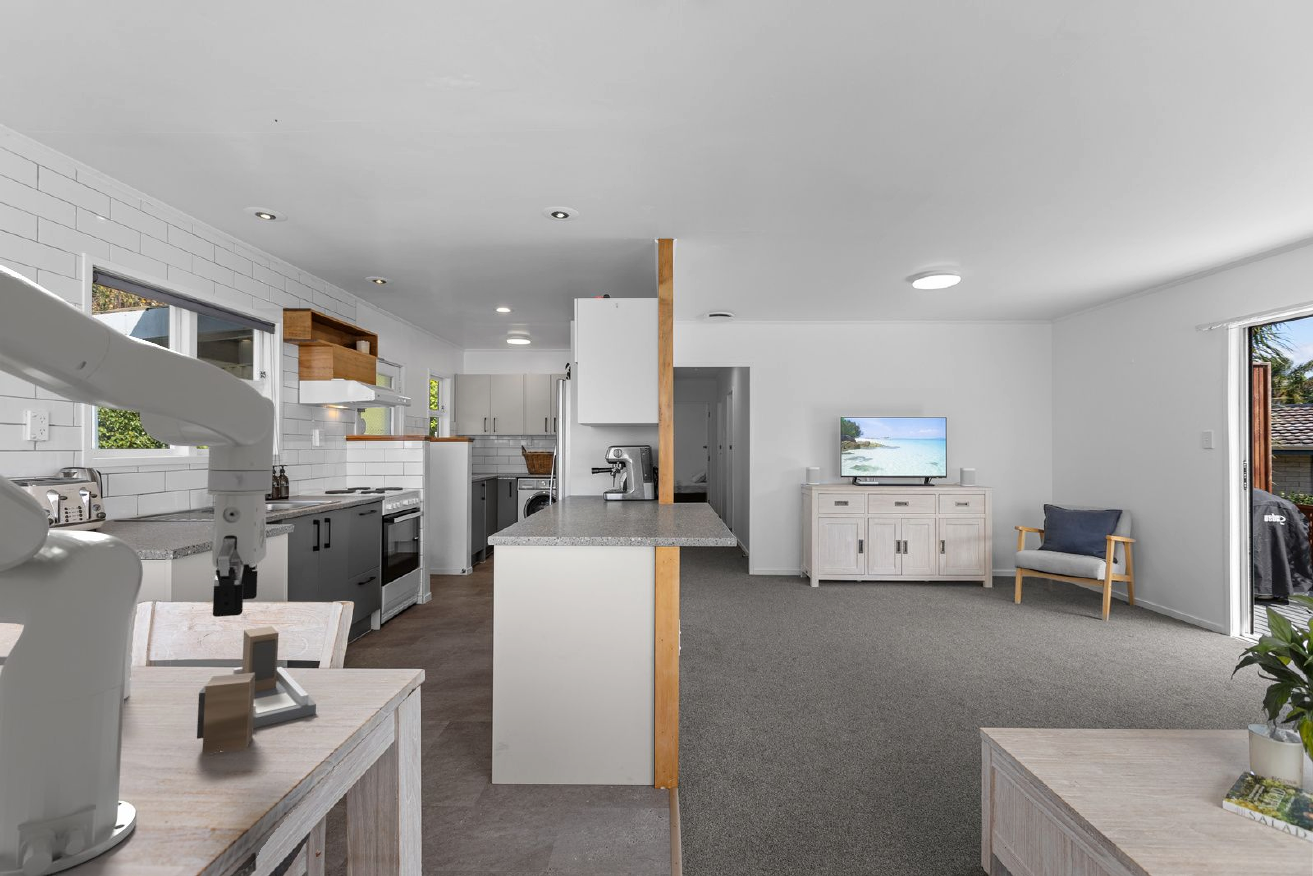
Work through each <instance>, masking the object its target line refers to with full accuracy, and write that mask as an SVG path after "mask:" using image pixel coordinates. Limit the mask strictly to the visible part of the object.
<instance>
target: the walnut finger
mask: <svg viewBox="0 0 1313 876" xmlns="http://www.w3.org/2000/svg"><path fill="white" fill-rule="evenodd" d="M254 686H255V673H245V674H234V675H233V674H225V675H213V676H212V678H210V680H209V681H208V682H207V684H206V685H204V686H203V687H202V689H201V690H200V691H199V692H198V707H197V708H198V709H197V723H196V724H197V726H196V727H197V728H196V729H197V731H196V739H197V740H199V739H202V750H201V751H202V752H201V753H202V755H203V756H204V755H211V753H212V754H216V753H215V752H220V751H227V752H234V751H233V750H235V751H241V750H242V749H243V750H247V749H248V747H247V746H249V745H250V743H249V742H251V740H252V739H253V731H254V728H253V708H254ZM220 753H221V752H220ZM202 755H201V756H202Z"/></svg>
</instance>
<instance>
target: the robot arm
mask: <svg viewBox="0 0 1313 876" xmlns="http://www.w3.org/2000/svg"><path fill="white" fill-rule="evenodd" d="M0 371H1V372H4V373H6V374H8V375H11V376H13V377H15V378H18V379H20V380H22V381H24V382H27V383H30V384H32V385H34V386H36V387H38V388H39V387H40V388H41V389H43V390H46V391H48V392H50V393H53V394H55V395H58V396H60V397H62V398H63V399H64V398H65V399H67V400H70V401H72V402H74V403H80V404H85V405H88V406H94V407H98V408H103V409H108V410H116V411H125V412H135V413H139V421H140V424H141V427H142V429H143V430H144V432H145V433H146V434H147V435H149V437H151V438H152V439H154V440H156V441H158V442H160V443H163V444H166V445H169V446H177V447H208V463H207V465H208V468H207V469H208V470H207V488H206V489H207V492H206V494H207V495H209V496H210V495H211V496H215V505H214V509H213V511H214V516H213V526H212V528H213V529H212V546H211V559H212V562H211V563H212V566H213V567H214V568H216V570H215V578H214V585H213V598H212V599H213V600H212V601H213V602H212V616H213V617H216V618H218V617H231V616H232V617H234V616H240V615H241V614H243V608H244V607H243V604H244V600H254V599H255V598H256V597H257V594H258V570H257V569H258V564H259V563H260V562H262V561H263V560H264V559H265V557H266V556H267V555H266V554H267V512H266V511H267V507H266V495H269V494H272V493H273V469H274V468H273V466H274V462H273V461H274V439H275V438H274V437H275V418H276V417H275V415H276V414H275V413H276V412H275V411H276V410H275V408H276V407H275V405H274V402H273V400H272V399H270V398H269V397H267V396H263V395H262V394H261V393H260V392H259V391H258V390H257V389H255V388H254V387H253V386H252V385H250V384H248V383H246V382H245V381H244V380H242V379H240V378H239V377H238V376H235V375H234V374H232V373H231V372H228V371H227V370H225V369H223V368H221V367H218V366H216V365H215V364H212V363H209V362H207V361H205V360H201V359H198V358H196V357H192V356H191V355H190V356H189V355H187V354H183V353H181V352H178V351H174V350H172V349H168V348H167V347H163V346H162V345H161V346H160V345H158V344H156V343H152V342H150V341H146V340H143V339H139V338H136V337H135V336H134V337H133V336H130V335H128V334H125V333H123V332H121V331H119V330H117V329H115V328H113V327H111V326H110V325H108V324H106V323H104V321H101V320H100V319H97V318H96V317H94V316H92V315H91V314H88V313H87V312H85V311H84V310H82V309H80V308H78V307H76V306H75V305H73V304H71V303H70V302H68V301H66V300H65V299H63V298H61V297H60V296H58V295H56V294H54V293H52V292H51V291H49V290H48V289H45V288H43V287H42V286H40V285H39V284H37V283H35V282H33V281H32V280H30V279H28V278H27V277H25V276H22V275H21V274H19V273H17V272H15V271H13V270H11V269H9V268H7V267H6V266H3V265H0ZM143 576H144V570H143V562H142V560H141V558H140V554H139V553H138V552H137V550H136V549H135V548H134V547H133V546H132V545H131V544H129V543H128V542H127V541H126V540H123V539H121V538H119V537H116V536H114V535H111V534H105V533H103V532H96V531H84V530H69V529H68V530H65V529H63V530H62V529H60V530H59V529H50V521H49V516H48V514H47V511H46V510H45V509H44V506H42V504H41V503H40V501H38V499H36V497H34V496H33V495H32V494H30V493H29V492H28V491H27V490H25V489H24V488H23V487H22V486H20V485H19V484H17V483H15V482H13V481H12V480H10V479H9V478H7V477H5V476H4V475H2V474H1V473H0V624H12V625H15V624H17V625H20V626H22V625H23V628H22V632H21V633H20V634H19V637H18V639H17V640H16V642H15V644H14V645H13V647H12V649H11V650H10V652H9V653H8V655H7V657H6V659H5V660H4V662H3V666H2V668H1V671H0V876H47V875H51V874H54V873H57V872H58V873H59V872H60V871H64V870H67V869H69V868H72V867H75V866H78V865H80V864H82V863H84V862H87V861H89V860H91V859H93V858H96V857H98V856H100V855H101V854H103V853H105V852H107V851H108V850H110V849H112V848H113V847H115V846H116V845H117V844H118V843H119V844H120V842H122V841H123V840H124V839H125V838H126V837H127V836H128V835H130V834H131V832H132V831H133V829H134V828H135V827H136V824H137V813H138V812H137V809H136V807H135V806H134V805H133V804H131V803H129V802H126V801H124V800H119V799H120V798H119V797H120V783H121V781H120V779H121V765H122V763H121V761H122V744H123V742H122V741H123V729H124V728H123V727H124V726H123V724H124V723H123V722H124V707H125V706H124V704H125V703H124V702H125V699H124V689H125V667H126V653H127V643H128V635H129V629H130V624H131V619H132V615H133V612H134V611H135V608H136V604H137V600H138V598H139V595H140V590H141V588H142V583H143Z"/></svg>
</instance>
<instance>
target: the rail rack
mask: <svg viewBox="0 0 1313 876" xmlns="http://www.w3.org/2000/svg"><path fill="white" fill-rule="evenodd" d="M278 651H279V632H278V631H277V630H276V629H275V628H274V627H273V626H263V627H256V628H250V629H244V630H243V643H242V666H240V667H233V670H232V675H234V674H245V673H255V686H254V708H253V729H256V728H261V727H264V726H269V725H274V724H278V723H283V722H287V721H290V720H291V721H292V720H296V719H299V718H303V717H308V716H314V715H316V714H317V712H316V711H317V703H316V702H315V701H314V700H313V699H312V698H311V697H310V696H309V694H308V693H307V692H306V691H305V690H304V689H303V688H302V687H301V685H300V684H299V683H298V682H296V681H295V679H294V678H293V677H292V676H291V675H290V674H289V673H288V672H287V671H286V670H285V669H284V668H283V666H278V655H279V652H278Z"/></svg>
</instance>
